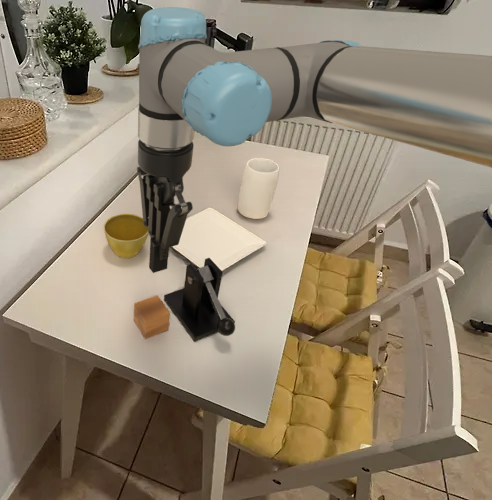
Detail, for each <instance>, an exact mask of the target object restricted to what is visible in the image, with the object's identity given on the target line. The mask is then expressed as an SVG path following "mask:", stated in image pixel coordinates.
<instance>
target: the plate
mask: <svg viewBox="0 0 492 500" xmlns="http://www.w3.org/2000/svg"><path fill="white" fill-rule="evenodd" d="M266 245H268V242H267V241H266V240H264V239H262V238H261V237H259V236H258V235H256V234H254V233H252V232H251V231H250V230H249V229H247V228H244V227H243V226H241V225H240V224H238V223H237V222H235V221H234V220H232V219H230V218H229V217H228V216H225V215H224V214H222V213H221V212H219V211H218V210H216V209H214V208H213V207H212V206H211V207H207V208H205V209H203V210H201V211H199V212H197V213H195V214H192V215H191V216H189V217H187V218H186V221H185V225H184V228H183V231H182V234H181V238H180V241H179V244H178V245H176V246H172V247H171V248H173V249H174V250H175V251H176V252H178V253H179V254H180V255H182V256H183V257H184V258H186V260H188V261H189V262H191V264H192V265H195V266H196V267H197V268H201V267H204V263H205V259H207V258H210V259H211V260H212V261H213V262H214V263H215V264H216V265H217V266H218V267H219V269H220V270H221V271H222V272H224V271H225V270H227V268H229V267H231V266H233V265H235V264H237V263H238V262H239V261H241V260H243V259H244V258H246V257H248V256H249V255H251V254H253V253H255V252H256V251H258V250H259V249H261V248H263V247H265V246H266Z"/></svg>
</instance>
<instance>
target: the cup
mask: <svg viewBox="0 0 492 500" xmlns="http://www.w3.org/2000/svg"><path fill="white" fill-rule="evenodd" d="M280 169H281V167H280V166H279V163H277V162H276V161H274V160H272V159H269V158H265V157H254V158H250V159H249V160H247V162H246V163H245V167H244V170H243V174H242V177H241V181H240V188H239V194H238V200H237V211H238V213H239V214H240V215H242V216H244V217H245V218H248V219H253V220H256V219H258V220H259V219H264V218H265V217H267V216H268V215H269V213H270V210H271V206H272V203H273V200H274V197H275V193H276V189H277V186H278V182H279V181H278V180H279V175H280Z"/></svg>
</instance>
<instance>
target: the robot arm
mask: <svg viewBox="0 0 492 500" xmlns="http://www.w3.org/2000/svg"><path fill="white" fill-rule="evenodd" d="M207 38H208V35H207V20H206V17H205V15H204V13H203V12H201V11H199V10H197V9H193V8H188V7H179V6H163V7H157V8H152V9H149V10H148V11H146V12H145V13H144V14H143V16H142V18H141V21H140V34H139V43H138V45H137V47H138V50H139V51H138V52H139V54H138V55H139V57H138V58H139V59H138V60H139V61H138V63H139V65H138V67H139V68H138V70H139V71H138V109H137V110H138V112H137V113H138V115H137V117H138V118H137V121H138V122H137V137H138V141H137V164H138V166H137V167H136V172H137V177H138V179H139V189H140V191H139V192H140V200H141V201H140V202H141V211H142V212H141V213H142V218H143V223H144V226H145V227H147V226H148V236H150V239H149V240H150V241H149V259H148V260H149V263H148V265H149V266H148V268H149V270H150V271H151V272H152V274H155V273H159V272H161V271H165V270H167V269H168V263H169V256H170V248H172V246H176V245H178V244H179V241H180V238H181V234H182V231H183V228H184V225H185V221H186V219H187V218H188V215H189V214H190V213H191V212H192V210H193V207H194V206H193V203H192V202H191V201H187V202H186V200H185V198H184V195H183V193H184V189H185V188H184V187H185V186H184V176H185V175H186V174H187V172H188V171H189V170H190V169H191V167H192V163H193V155H194V142H193V141H194V140H195V133H197V134H200V135H201V136H202V137H205V138H206V139H208V140H209V141H211V142H212V143H213V144H215V145H218V146H220V147H221V146H222V147H236V146H239V145H243V144H244V143H245V142H246V141H247V140H248V139H250V138H251V137H254V136H256V135H257V134H258V133H259V132H260V131H261V130H262V128H264V126H265V124H266V123H271V122H276V121H282V120H283V121H284V120H289V119H294V118H303V117H304V118H310V119H314V120H318V121H322V122H325V123H330V124H335V125H338V126H342V127H345V128H347V129H348V128H349V129H352V130H356V131H360V132H362V133H367V134H370V135H375V136H376V137H381V138H384V139H388V140H392V141H395V142H400V143H402V144H406V145H409V146H414V147H417V148H421V149H424V150H428V151H431V152H435V153H438V154H441V155H444V156H449V157H453V158H456V159H459V160H463V161H466V162H470V163H473V164H477V165H481V166H484V167H487V168H491V169H492V55H485V54H474V53H473V54H472V53H457V52H445V51H433V50H431V51H430V50H418V49H417V50H416V49H405V48H404V49H403V48H388V47H378V46H377V47H376V46H363V45H361V44H360V43H359V42H357V41H354V40H340V39H332V40H322V41H321V40H320V42H313V43H305V44H299V45H291V46H282V47H279V46H276V47H269V48H268V47H267V48H257V49H247V50H239V51H229V52H225V51H224V52H223V51H220V50H217V49H215V48H213V47H212V46H210V45H209V44H207V43H206V41H207Z"/></svg>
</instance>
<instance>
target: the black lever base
mask: <svg viewBox="0 0 492 500" xmlns="http://www.w3.org/2000/svg"><path fill="white" fill-rule="evenodd" d="M207 265H208V267H209V269H210V271H211V274H212V276H213V278H214V279H213V280H212V281H211V285H212V287H213V289H214V291H215V294H216V296H217V298H218V299H219V294H220V289H221V283H222V277H223V274H224V273H223V272H224V271H221V270H220V269H219V267H218V266H217V265H216V264H215V263H214V262H213V261H212V260H211V259H210V258H207V259H205V263H204V266H207ZM203 281H204V278H203V277H202V276H201V275H200V274H199V272H198V271H197V268H196V267H194V264H193V263H189V264H187V265H186V268H185V277H184V284H183V288H180V289H177V290H174V291H172V292H169V293H166V294H164V295H163V300H164V302H165V303H166V304H167V306H168V307H169V308H170V310H171V311H172V312H173V314H174V316H175V317H176V318H177V319H178V321H179V322H180V324H181V325H182V327H183V328H184V329H185V331H186V332H187V333H188V335H189V336H190V338H191V339H192V340H193V342H197V341H200V340H202V339H205V338H208V337H210V336H212V335H215V334H217V333H219V332H218V330H217V323H218V322H219V319H218V317H217V315H216V312H215V310H214V308H213V306H212V303H211V301H210V299H209V296H208V294H207V292H206V290H205V287H204V285H203ZM220 305H221V307H222V309H223V312H224V314H225V316H226V318H229V319H231V320H232V321H233V322H234V324H235V323H236V321H235V320H234V318H233V317H232V316H231V315H230V314H229V312H228V310H226V309H225V308H224V306H223V305H222V304H221V303H220ZM235 325H236V324H235Z"/></svg>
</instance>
